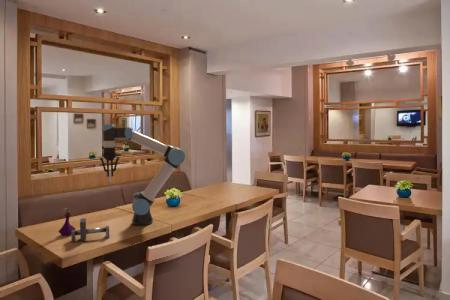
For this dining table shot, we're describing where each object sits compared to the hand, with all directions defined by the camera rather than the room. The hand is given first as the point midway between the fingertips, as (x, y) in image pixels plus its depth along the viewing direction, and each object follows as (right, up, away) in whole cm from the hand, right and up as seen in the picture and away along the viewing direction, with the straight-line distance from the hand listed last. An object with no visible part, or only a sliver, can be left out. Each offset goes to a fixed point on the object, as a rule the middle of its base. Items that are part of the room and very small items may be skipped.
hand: (110, 181), depth 215 cm
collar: (-11, -36, -16) cm, 41 cm away
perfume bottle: (-26, -35, -6) cm, 45 cm away
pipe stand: (-7, -35, -15) cm, 39 cm away
